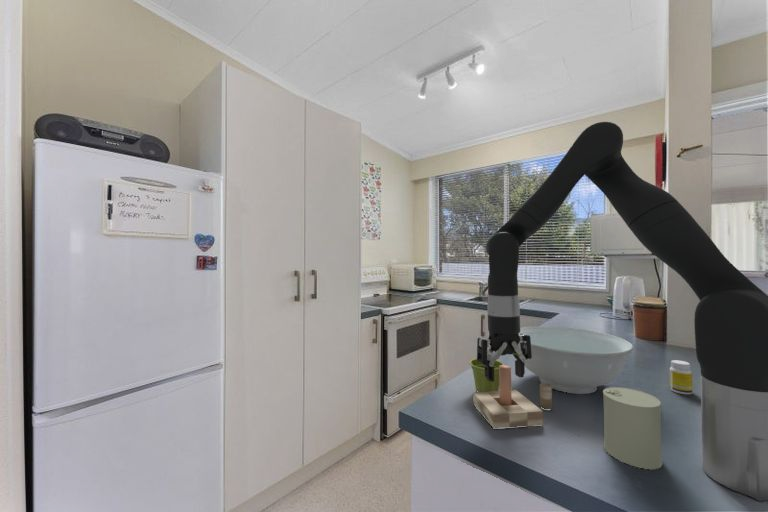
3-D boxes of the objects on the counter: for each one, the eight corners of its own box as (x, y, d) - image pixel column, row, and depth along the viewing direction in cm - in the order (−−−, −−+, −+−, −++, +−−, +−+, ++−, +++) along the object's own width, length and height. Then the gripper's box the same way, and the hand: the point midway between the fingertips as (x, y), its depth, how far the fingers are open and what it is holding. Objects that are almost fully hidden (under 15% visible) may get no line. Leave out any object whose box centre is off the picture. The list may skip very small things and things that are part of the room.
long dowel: (513, 417, 78) (513, 368, 78) (503, 418, 77) (502, 369, 78) (508, 412, 80) (507, 364, 81) (497, 412, 80) (496, 365, 80)
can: (605, 436, 69) (604, 381, 69) (661, 451, 63) (660, 392, 63) (601, 456, 62) (600, 395, 62) (663, 477, 56) (662, 409, 56)
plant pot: (472, 384, 98) (471, 356, 98) (504, 389, 94) (504, 360, 94) (468, 397, 89) (467, 366, 89) (503, 402, 86) (503, 370, 86)
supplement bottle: (697, 395, 88) (696, 365, 88) (677, 394, 89) (676, 364, 89) (684, 388, 93) (683, 359, 93) (665, 387, 94) (665, 359, 94)
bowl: (617, 373, 105) (616, 329, 105) (651, 419, 76) (650, 358, 76) (513, 361, 119) (512, 322, 119) (508, 396, 90) (507, 344, 90)
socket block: (543, 426, 74) (542, 411, 74) (493, 430, 72) (493, 414, 72) (516, 402, 85) (515, 389, 85) (473, 405, 84) (473, 392, 84)
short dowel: (554, 410, 81) (554, 387, 81) (544, 411, 81) (543, 387, 81) (547, 405, 84) (547, 382, 84) (537, 406, 83) (537, 383, 83)
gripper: (487, 317, 73) (489, 388, 73) (538, 313, 77) (540, 380, 77) (469, 312, 80) (471, 376, 80) (516, 309, 84) (518, 370, 84)
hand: (505, 378), depth 78 cm, fingers open, 8 cm apart
